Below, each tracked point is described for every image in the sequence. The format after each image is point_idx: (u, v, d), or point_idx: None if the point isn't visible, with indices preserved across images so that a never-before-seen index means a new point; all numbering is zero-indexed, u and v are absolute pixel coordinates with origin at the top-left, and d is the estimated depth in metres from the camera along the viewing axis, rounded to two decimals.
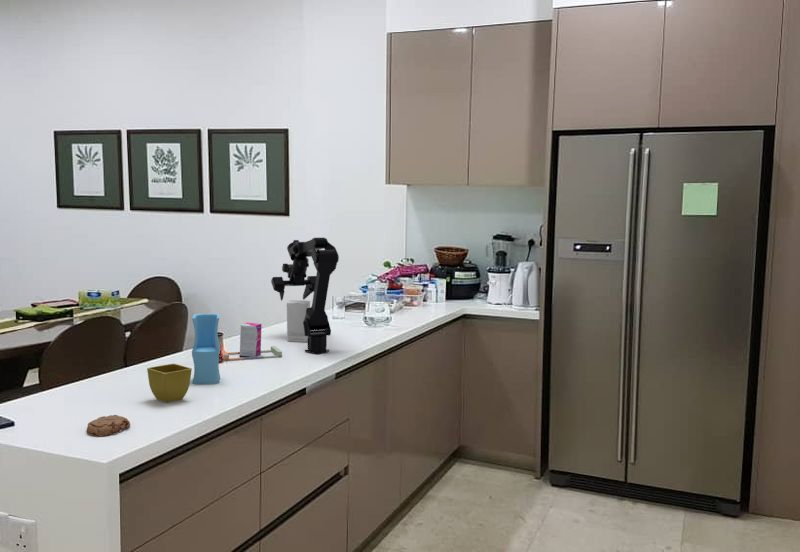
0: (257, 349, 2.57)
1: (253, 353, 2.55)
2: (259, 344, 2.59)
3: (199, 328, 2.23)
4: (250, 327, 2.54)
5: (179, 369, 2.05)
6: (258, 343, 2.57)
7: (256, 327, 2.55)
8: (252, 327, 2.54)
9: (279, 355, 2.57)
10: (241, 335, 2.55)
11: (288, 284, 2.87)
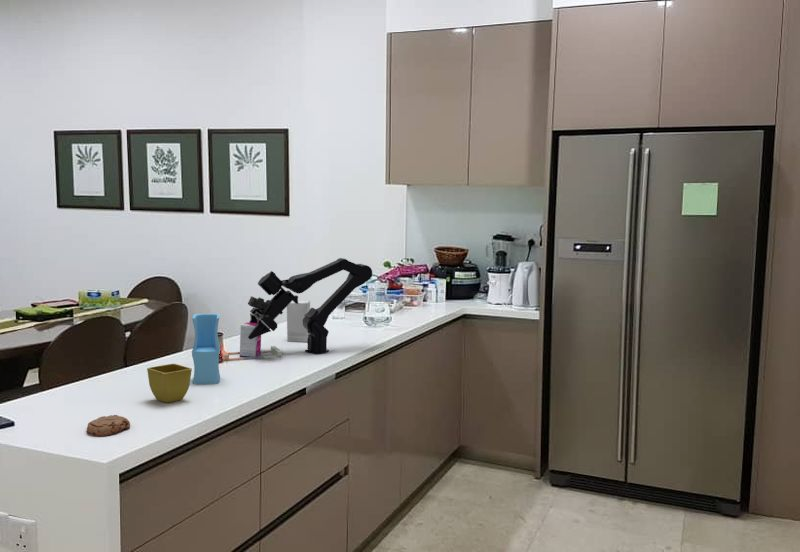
0: (257, 349, 2.57)
1: (253, 353, 2.55)
2: (259, 344, 2.59)
3: (199, 328, 2.23)
4: (250, 327, 2.54)
5: (179, 369, 2.05)
6: (258, 343, 2.57)
7: None
8: (252, 327, 2.54)
9: (279, 355, 2.57)
10: (241, 335, 2.55)
11: None
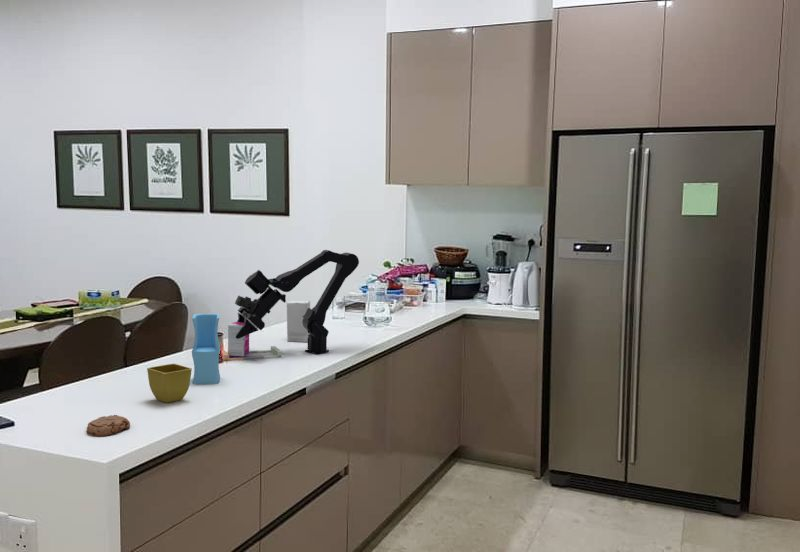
0: (245, 348, 2.55)
1: (241, 353, 2.53)
2: (247, 344, 2.57)
3: (199, 328, 2.23)
4: (238, 327, 2.52)
5: (179, 369, 2.05)
6: (246, 342, 2.55)
7: None
8: (240, 326, 2.52)
9: (279, 355, 2.57)
10: (229, 335, 2.53)
11: None
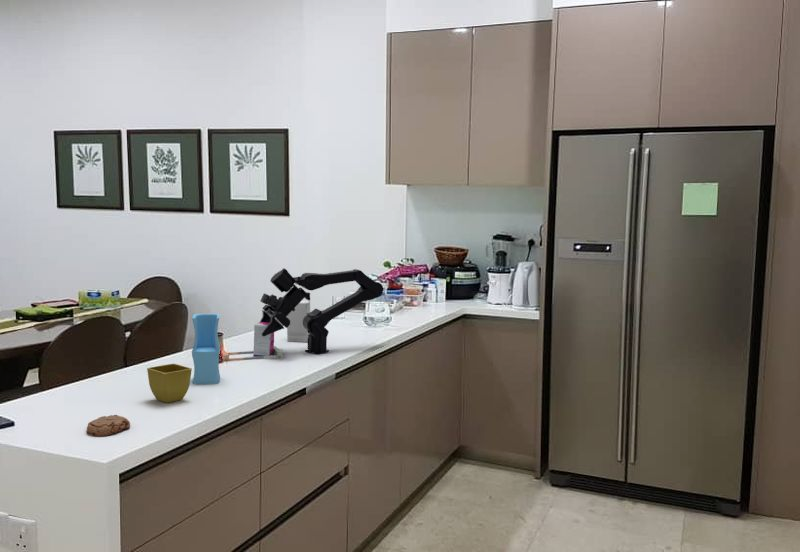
0: (271, 348, 2.59)
1: (267, 353, 2.57)
2: (272, 343, 2.61)
3: (199, 328, 2.23)
4: (264, 326, 2.56)
5: (179, 369, 2.05)
6: (271, 342, 2.59)
7: None
8: (266, 326, 2.56)
9: (279, 355, 2.57)
10: (255, 334, 2.57)
11: None
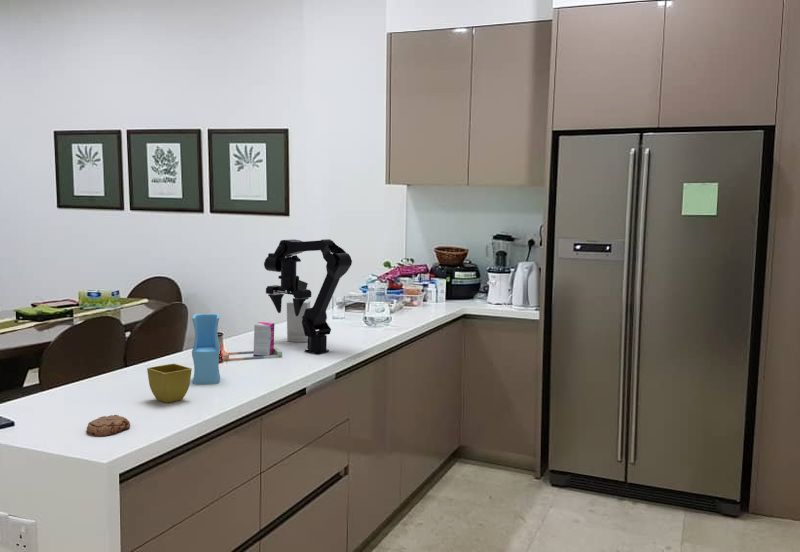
0: (271, 348, 2.59)
1: (267, 353, 2.57)
2: (272, 343, 2.61)
3: (199, 328, 2.23)
4: (264, 326, 2.56)
5: (179, 369, 2.05)
6: (271, 342, 2.59)
7: (270, 326, 2.57)
8: (266, 326, 2.56)
9: (279, 355, 2.57)
10: (255, 334, 2.57)
11: (279, 290, 2.76)
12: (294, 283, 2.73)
